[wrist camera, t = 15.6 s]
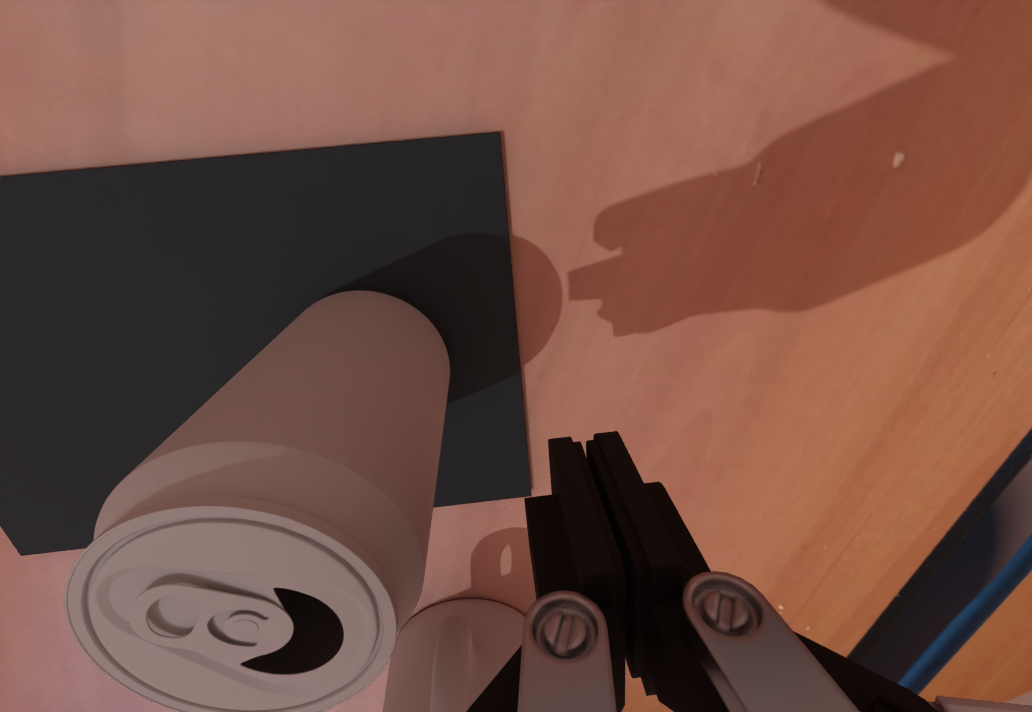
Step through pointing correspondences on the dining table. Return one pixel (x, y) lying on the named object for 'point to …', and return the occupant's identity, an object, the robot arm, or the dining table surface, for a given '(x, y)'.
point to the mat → (238, 306)
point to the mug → (451, 655)
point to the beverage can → (276, 522)
